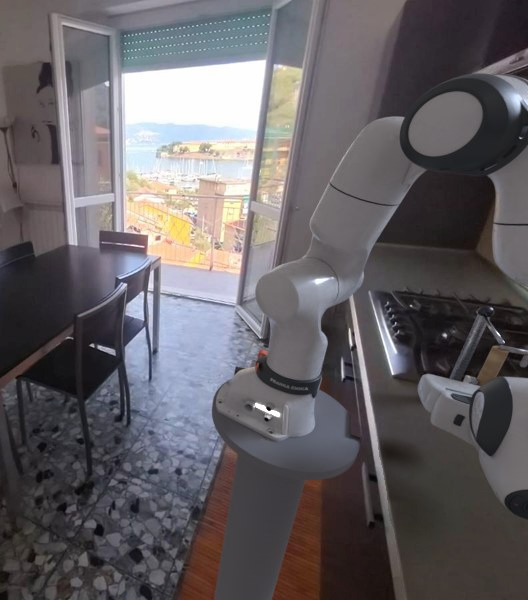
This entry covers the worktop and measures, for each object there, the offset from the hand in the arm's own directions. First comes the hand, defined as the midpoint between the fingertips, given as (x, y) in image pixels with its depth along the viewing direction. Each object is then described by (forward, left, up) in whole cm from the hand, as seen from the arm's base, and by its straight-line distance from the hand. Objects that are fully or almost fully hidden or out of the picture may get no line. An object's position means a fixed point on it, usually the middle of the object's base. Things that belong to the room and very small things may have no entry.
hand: (481, 382), depth 68 cm
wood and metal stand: (+2, +13, -17) cm, 21 cm away
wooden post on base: (0, -1, -9) cm, 9 cm away
